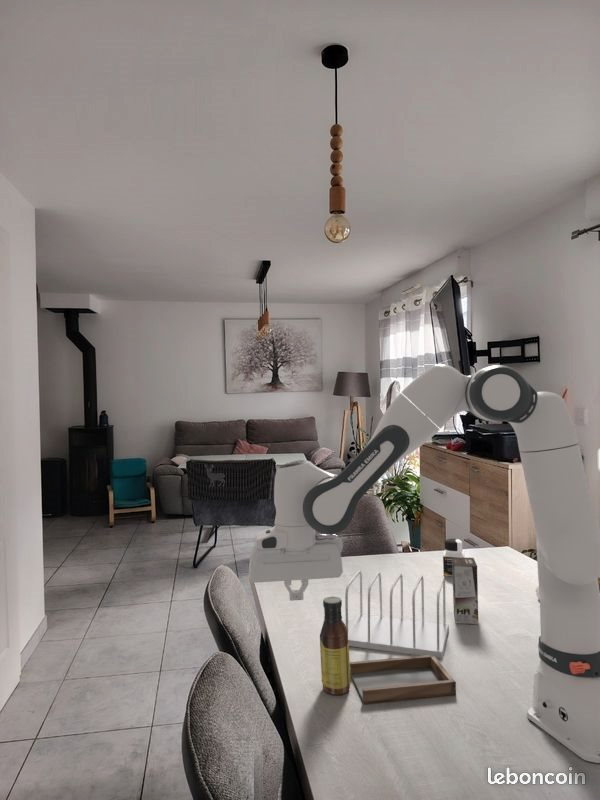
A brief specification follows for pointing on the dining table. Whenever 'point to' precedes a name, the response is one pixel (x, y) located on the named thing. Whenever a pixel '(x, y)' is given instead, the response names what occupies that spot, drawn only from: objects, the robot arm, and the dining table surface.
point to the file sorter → (398, 625)
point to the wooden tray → (401, 679)
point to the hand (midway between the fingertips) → (296, 599)
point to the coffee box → (465, 590)
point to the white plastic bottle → (451, 554)
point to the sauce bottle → (334, 649)
